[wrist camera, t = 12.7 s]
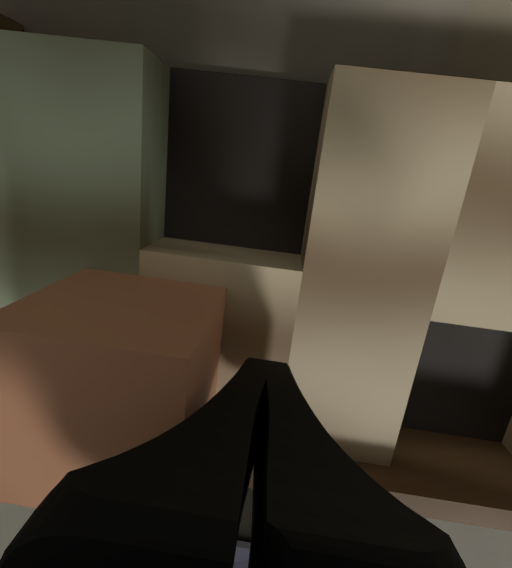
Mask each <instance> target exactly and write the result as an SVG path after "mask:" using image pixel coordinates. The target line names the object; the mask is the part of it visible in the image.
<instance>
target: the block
mask: <svg viewBox="0 0 512 568" xmlns="http://www.w3.org/2000/svg"><path fill="white" fill-rule="evenodd" d="M226 290H227V288H222V287H215V286H208V285H201V284H194V283H187V282H181V281H174V280H167V279H160V278H153V277H146V276H139V275H132V274H125V273H118V272H111V271H104V270H97V269H90V268H84V269H82V270H80V271H77V272H75V273H73V274H71V275H69V276H67V277H65V278H63V279H61V280H59V281H57V282H55V283H53V284H50V285H48V286H46V287H44V288H42V289H40V290H38V291H36V292H34V293H32V294H30V295H28V296H25V297H23V298H21V299H19V300H17V301H15V302H13V303H11V304H9V305H7V306H5V307H3V308H0V502H3V503H9V504H14V505H20V506H26V507H31V508H37V507H38V506H39V504H40V503H41V502H42V501H43V500H44V498H45V497H46V496H47V495H48V494H49V492H50V491H51V490H52V489H53V488H54V487H55V486H56V485H57V484H58V483H59V482H60V481H61V480H62V479H63V477H64V476H65V475H66V474H67V473H68V472H69V471H72V470H76V469H79V468H82V467H85V466H88V465H90V464H93V463H96V462H99V461H102V460H105V459H108V458H110V457H113V456H116V455H118V454H121V453H123V452H125V451H128V450H130V449H132V448H135V447H137V446H139V445H141V444H143V443H145V442H147V441H149V440H151V439H153V438H155V437H157V436H159V435H161V434H162V433H164V432H166V431H168V430H169V429H171V428H173V427H174V426H176V425H177V424H179V423H181V422H182V421H183V420H185V419H186V418H188V417H189V416H190V415H192V414H193V413H195V412H196V411H197V410H198V409H200V408H201V407H202V406H203V405H205V404H206V403H207V402H208V401H209V400H210V399H211V398H212V397H213V396H215V395H216V387H217V377H218V368H219V358H220V348H221V339H222V329H223V319H224V309H225V300H226Z"/></svg>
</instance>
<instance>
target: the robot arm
mask: <svg viewBox="0 0 512 568" xmlns="http://www.w3.org/2000/svg"><path fill="white" fill-rule="evenodd" d="M253 465H254V468H253ZM252 470H253V506H252V531H251V543H250V542H244V541H238V540H237V537H238V532H239V527H240V522H241V517H242V513H243V509H244V504H245V500H246V496H247V491H248V487H249V483H250V478H251V474H252ZM0 568H466V566H465V564H464V562H463V560H462V559H461V557H460V555H459V553H458V551H457V550H456V548H455V546H454V544H453V542H452V540H451V538H450V536H449V535H448V534H446V533H445V532H443V531H442V530H440V529H439V528H438V527H436V526H435V525H433V524H432V523H430V522H429V521H427V520H426V519H425V518H423V517H422V516H420V515H419V514H417V513H416V512H414V511H413V510H412V509H410V508H409V507H407V506H406V505H404V504H403V503H402V502H401V501H399V500H398V499H397V498H396V497H394V496H393V495H392V494H391V493H389V492H388V491H387V490H386V489H384V488H383V487H382V486H381V485H379V484H378V483H377V482H376V481H375V480H374V479H373V478H371V477H370V476H369V475H368V474H367V473H366V472H365V471H364V470H363V469H362V468H361V467H360V466H359V465H357V464H356V463H355V462H354V461H353V460H352V459H351V458H350V457H349V456H348V455H347V454H346V453H345V452H344V451H343V449H342V448H341V447H340V446H339V445H338V444H337V443H336V442H335V440H334V439H333V438H332V437H331V436H330V435H329V433H328V432H327V431H326V429H325V428H324V427H323V425H322V424H321V423H320V421H319V420H318V418H317V417H316V415H315V414H314V412H313V411H312V409H311V408H310V406H309V404H308V403H307V401H306V399H305V398H304V396H303V394H302V392H301V391H300V389H299V387H298V385H297V383H296V381H295V379H294V377H293V374H292V372H291V369H290V367H289V365H288V364H287V363H284V362H277V361H270V360H264V359H257V358H250V357H249V358H248V359H246V360H245V362H244V363H243V365H242V366H241V367H240V369H239V370H238V371H237V373H236V374H235V375H234V376H233V377H232V378H231V379H230V380H229V382H228V383H227V384H226V385H225V386H224V387H223V388H222V389H221V390H220V391H219V392H218V393H217V394H216V395H215V396H213V397H212V398H211V399H210V400H209V401H208V402H207V403H206V404H205V405H203V406H202V407H201V408H200V409H198V410H197V411H196V412H195V413H193V414H192V415H190V416H189V417H188V418H186V419H185V420H183V421H182V422H181V423H179V424H177V425H176V426H174V427H173V428H171V429H169V430H168V431H166V432H164V433H162V434H161V435H159V436H157V437H155V438H153V439H151V440H149V441H147V442H145V443H143V444H141V445H139V446H137V447H135V448H132V449H130V450H128V451H125V452H123V453H121V454H118V455H116V456H113V457H110V458H108V459H105V460H102V461H99V462H96V463H93V464H90V465H88V466H85V467H82V468H79V469H76V470H72V471H69V472H68V473H67V474H66V475H65V476H64V477H63V479H62V480H61V481H60V482H59V483H58V484H57V485H56V486H55V487H54V488H53V489H52V490H51V491H50V492H49V494H48V495H47V496H46V497H45V498H44V500H43V501H42V502H41V503H40V504H39V506H38V507H37V508H36V510H35V511H34V512H33V514H32V515H31V516H30V518H29V519H28V520H27V522H26V523H25V524H24V526H23V527H22V528H21V530H20V531H19V532H18V534H17V535H16V536H15V538H14V539H13V540H12V542H11V543H10V544H9V546H8V547H7V548H6V550H5V551H4V553H3V556H2V558H1V560H0Z"/></svg>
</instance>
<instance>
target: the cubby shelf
mask: <svg viewBox="0 0 512 568" xmlns="http://www.w3.org/2000/svg"><path fill="white" fill-rule="evenodd" d="M84 268H90V269H97V270H104V271H111V272H118V273H125V274H132V275H139V276H146V277H153V278H160V279H167V280H174V281H181V282H187V283H194V284H201V285H208V286H215V287H222V288H227V290H226V300H225V309H224V319H223V329H222V339H221V348H220V358H219V368H218V377H217V387H216V394H217V393H218V392H219V391H220V390H221V389H222V388H223V387H224V386H225V385H226V384H227V383H228V382H229V380H230V379H231V378H232V377H233V376H234V375H235V374H236V373H237V371H238V370H239V369H240V367H241V366H242V365H243V363H244V362H245V360H246V359H248V358H249V357H250V358H257V359H264V360H270V361H277V362H284V363H287V364H288V365H289V367H290V369H291V372H292V374H293V377H294V379H295V381H296V383H297V385H298V387H299V389H300V391H301V392H302V394H303V396H304V398H305V399H306V401H307V403H308V404H309V406H310V408H311V409H312V411H313V412H314V414H315V415H316V417H317V418H318V420H319V421H320V423H321V424H322V425H323V427H324V428H325V429H326V431H327V432H328V433H329V435H330V436H331V437H332V438H333V439H334V440H335V442H336V443H337V444H338V445H339V446H340V447H341V448H342V449H343V451H344V452H345V453H346V454H347V455H348V456H349V457H350V458H351V459H352V460H353V461H354V462H355V463H356V464H357V465H359V466H360V467H361V468H362V469H363V470H364V471H365V472H366V473H367V474H368V475H369V476H370V477H371V478H373V479H374V480H375V481H376V482H377V483H378V484H379V485H381V486H382V487H383V488H384V489H386V490H387V491H388V492H389V493H391V494H392V495H393V496H394V497H396V498H397V499H398V500H399V501H401V502H402V503H403V504H404V505H406V506H407V507H409V508H410V509H412V510H413V511H414V512H416V513H417V514H419V515H420V516H422V517H426V518H432V519H439V520H445V521H451V522H457V523H463V524H469V525H475V526H482V527H488V528H494V529H500V530H506V531H512V82H502V81H492V80H483V79H473V78H463V77H454V76H444V75H434V74H425V73H415V72H405V71H396V70H386V69H377V68H367V67H357V66H348V65H338V64H335V66H334V69H333V71H332V73H331V76H330V78H329V80H328V83H327V84H322V83H313V82H303V81H294V80H284V79H275V78H266V77H256V76H247V75H237V74H228V73H219V72H209V71H200V70H190V69H181V68H172V67H169V66H168V65H167V64H166V63H165V62H163V61H162V60H161V59H160V58H159V57H158V56H156V55H155V54H154V53H153V52H152V51H150V50H149V49H148V48H147V47H146V46H145V45H143V44H135V43H125V42H116V41H106V40H96V39H87V38H77V37H67V36H58V35H48V34H39V33H29V32H23V25H21V24H19V23H17V22H16V21H14V20H12V19H10V18H8V17H6V16H4V15H3V14H1V13H0V308H3V307H5V306H7V305H9V304H11V303H13V302H15V301H17V300H19V299H21V298H23V297H25V296H28V295H30V294H32V293H34V292H36V291H38V290H40V289H42V288H44V287H46V286H48V285H50V284H53V283H55V282H57V281H59V280H61V279H63V278H65V277H67V276H69V275H71V274H73V273H75V272H77V271H80V270H82V269H84ZM253 468H254V465H253ZM248 489H253V470H252V474H251V478H250V483H249V487H248Z"/></svg>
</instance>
